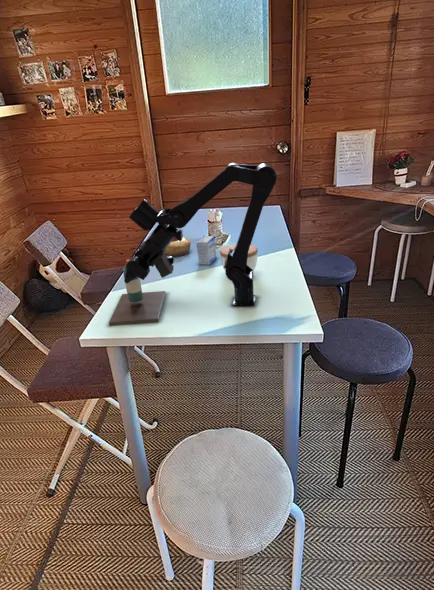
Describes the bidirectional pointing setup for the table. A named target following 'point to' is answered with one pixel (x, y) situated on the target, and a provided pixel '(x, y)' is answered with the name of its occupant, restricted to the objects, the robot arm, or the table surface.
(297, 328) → the table surface
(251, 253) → the lidded bowl
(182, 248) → the pastry
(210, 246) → the medicine box
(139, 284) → the glue bottle
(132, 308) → the desk board
